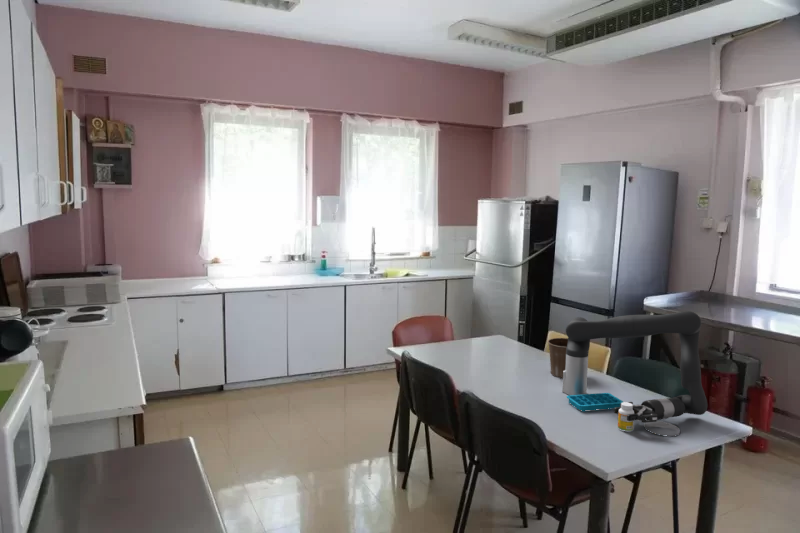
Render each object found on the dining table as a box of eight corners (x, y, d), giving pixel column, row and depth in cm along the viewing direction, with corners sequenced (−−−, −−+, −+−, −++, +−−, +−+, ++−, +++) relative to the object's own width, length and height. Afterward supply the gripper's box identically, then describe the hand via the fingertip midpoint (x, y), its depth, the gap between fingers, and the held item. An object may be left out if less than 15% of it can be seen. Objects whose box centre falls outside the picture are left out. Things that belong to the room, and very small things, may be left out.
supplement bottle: (620, 424, 205) (621, 400, 204) (635, 428, 202) (636, 403, 200) (615, 429, 201) (617, 404, 200) (630, 433, 198) (632, 408, 196)
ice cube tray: (624, 409, 221) (625, 402, 220) (579, 413, 217) (579, 406, 216) (608, 399, 232) (608, 392, 232) (564, 402, 228) (565, 395, 228)
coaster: (639, 429, 201) (639, 427, 201) (650, 420, 210) (650, 418, 210) (674, 439, 193) (674, 437, 193) (684, 429, 202) (684, 427, 202)
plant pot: (574, 382, 252) (575, 348, 250) (540, 375, 261) (542, 342, 259) (585, 373, 264) (587, 341, 262) (553, 367, 274) (555, 336, 272)
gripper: (644, 393, 211) (608, 397, 206) (673, 406, 198) (635, 411, 193) (643, 411, 212) (607, 416, 207) (671, 426, 199) (634, 432, 193)
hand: (621, 414), depth 200 cm, fingers open, 6 cm apart
